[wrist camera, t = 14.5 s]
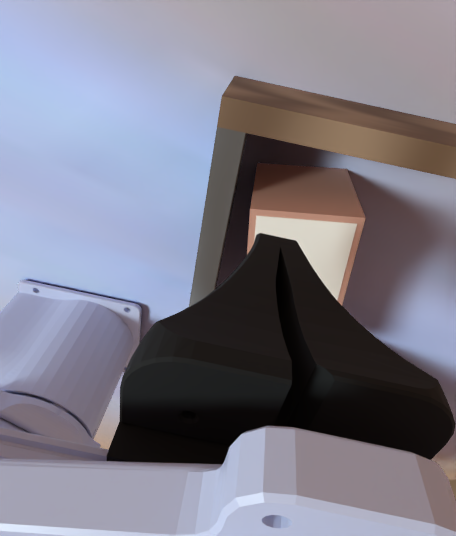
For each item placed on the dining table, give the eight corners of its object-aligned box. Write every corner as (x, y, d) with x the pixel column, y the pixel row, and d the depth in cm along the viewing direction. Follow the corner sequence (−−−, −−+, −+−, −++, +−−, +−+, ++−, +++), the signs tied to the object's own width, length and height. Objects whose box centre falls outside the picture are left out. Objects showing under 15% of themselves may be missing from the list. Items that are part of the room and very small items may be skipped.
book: (247, 296, 27) (239, 361, 22) (257, 162, 22) (250, 209, 17) (317, 303, 27) (324, 370, 22) (346, 168, 21) (365, 218, 16)
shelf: (198, 291, 27) (183, 341, 23) (234, 75, 19) (221, 95, 15) (426, 339, 27) (451, 398, 23) (563, 147, 19) (638, 187, 15)
